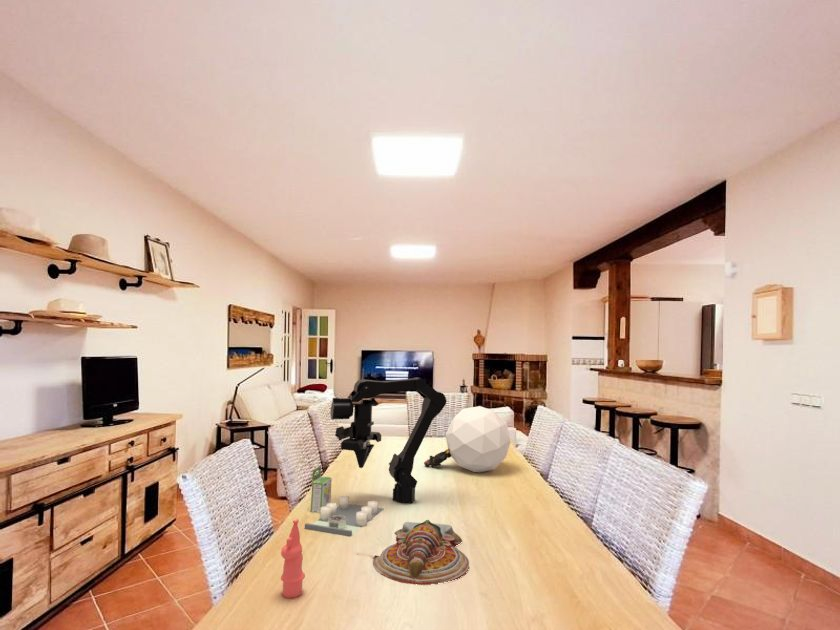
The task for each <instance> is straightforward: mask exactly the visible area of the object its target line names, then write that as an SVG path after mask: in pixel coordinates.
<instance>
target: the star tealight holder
mask: <svg viewBox="0 0 840 630" xmlns="http://www.w3.org/2000/svg"><path fill="white" fill-rule="evenodd" d="M328 527H333V528H339V529H344V528H346V518H345V516H341V515H334V516H331V517H328Z"/></svg>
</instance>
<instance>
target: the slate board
mask: <svg viewBox="0 0 840 630" xmlns="http://www.w3.org/2000/svg"><path fill="white" fill-rule="evenodd" d="M364 506H365V505H361V504H353V503H349V504H348V509H346V510H341V509H339V506H337V509H336V515H341V516H345V518H346V528H344V529H339V528H333V527H328V521H322V520H320V518H319V519H318V520H315V521H314V522H312V523H309V522H308V523H307V522H306V523H304V530H305V529H306V530H309V531H310V530H311V531H317V532H323V533H329V534H333V535H334V534H335V535H341V536H347V537H352V536H353V535H355V534H356V533H357V532H358V531H359V530H361V529H362V528H363V527H364V526H362V527H360V526H356V513H357V512H359V511H361V508H362V507H364ZM384 510H385V508H382V507H377V514H374V515H371V520H373V519H374V518H375V517H377V515H379V514H381V512H383V511H384ZM371 520H369V521H367V524H368V523H369V522H371Z"/></svg>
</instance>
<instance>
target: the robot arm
mask: <svg viewBox="0 0 840 630" xmlns="http://www.w3.org/2000/svg"><path fill="white" fill-rule="evenodd" d="M406 391H407V392H408V391H416V392H417V394H418V395H419V396H420V397H421V398H423V401H422V404H421V412H420V415H419V417H418V418H417V420H416V422H415V425H414V426H413V428H412V431H411V433H410V435H409V437H408V439H407V441H406V443H405V445H404V447H403V448H402V450H401V452H400V453H399V454H397V453H393V455H392V459H391V460H390V462H389V463H388V465H389V468H388V473H389V475H390V476H391V477H392V479H394V480H393V481H394V482H395V483H394V488H393V489H392V501H393V502H397V504H402V505H403V504H405V505H406V504H413V503H414V502H415V501H416V487H417V484H418V480H417V479H416V478H415V477H414V476H413V475H412V473H413V472H412V471H413V469H414V463H415V456H416V454H417V453H418V451H419V449H420V446H421V445H422V443H423V440H424V438H425V437H426V434H427V432H428V431H429V429H430V426H431V424H432V422H433V420H434V419H435V418H436V417H437V416H438V415H439V414H441V412H442V410H443V409H444V408H445V406H446V404H447V397H446V395H445V394H444V393H443V392H439V391H437V390H436V389H435V388H433V387H432V386H431V385H429V384H428V383H427V382H426V381H425V380H424V379H423V378H420V377H417V376H416V377H413V378H404V379H395V380H394V379H392V380H391V379H390V380H374V379H373V380H372V379H358V380H357V381H356V382H355V383H354V386H353V390H352V391H351V392H350V394H349V395H347V397H344V398H343V397H332V401H331V407H330V419H331V420H350V418H351V417H353V421H352V422H350V426H349V427H344V426H339V427H336V429H335V434H334V436H335V437H336V438H337V439H338V441H341V443H340V450H344V451H353V452H354V454H355V458H356V462H357V465H358V468H359V469H362V468H364V466H365V464H366V462H367V460H368V459H369V456H370V453H371V452H372V450H373V448H374V447H375V444H373V443H371V442H370V441H375V442H377V443H379V442H381V441H382V434H381V433H380V432H378V431H372V426H373V425H375V423H374V421H372V419H373V417H372V415H373V406H378V405H379V402H378V401H376V399H375V397H376V396H380V395H382V394H388V393H398V392H406Z"/></svg>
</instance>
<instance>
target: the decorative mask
mask: <svg viewBox="0 0 840 630" xmlns="http://www.w3.org/2000/svg"><path fill="white" fill-rule="evenodd" d="M393 533H394V535H395V536H396V537H395V541H396V543H393V544H391V545H389V546H387V547H386V548H385V549H384V550H382V551H381V553H380V555H374V556H373V558H372V566H373V568H374V570H375V571H376V572H377V573H378V574H379V575H381V576H383V577H385V578H387V579H390V580H393V581H394V582H399V583H402V584H409V585H416V584H417V585H419V586H432V585H431V584H435V585H439V584H438V583H443V584H445V583H444V582H448V581H452V580H455V579H457V580H459V579H461V578H462V577H461V576H463V575H464V574H465V575H467V573H468V572H469V570H470V567H469V563H470V560H469V558H468V557H467V556H466V555H465V553H464V552H462V551H461V550H460V549H458V548H457V546H456V545H458V544H460V543H461V542H462V543H463V540H462V538H461V536H460V535H458V534H457V533H456V532H455V531H454V530H453V526H452V525H451V524H443V523H442V524H441V523H433V522H431V521H430V520H429V519H426V520H424V521H423V522H415V521H414V522H413V521H406V522H404V523H403V524H402V528H400V529H398V530H396V531H395V532H393ZM462 543H461V544H462ZM461 544H460V545H461ZM455 546H456V547H455ZM458 546H459V545H458ZM468 569H469V570H468ZM467 571H468V572H467ZM466 572H467V573H466ZM465 575H464V576H465ZM464 576H463V577H464ZM460 577H461V578H460ZM458 578H459V579H458ZM455 581H456V580H455ZM452 582H453V581H452ZM448 583H449V582H448ZM417 585H416V586H417Z"/></svg>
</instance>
